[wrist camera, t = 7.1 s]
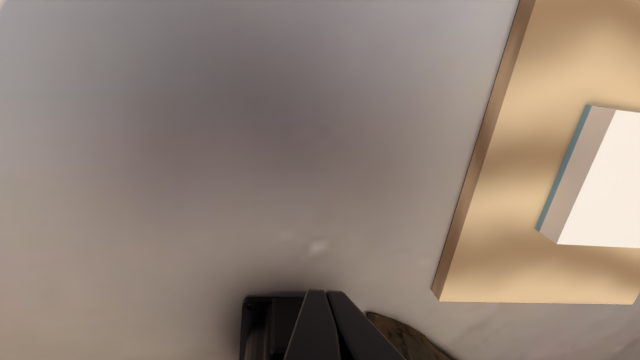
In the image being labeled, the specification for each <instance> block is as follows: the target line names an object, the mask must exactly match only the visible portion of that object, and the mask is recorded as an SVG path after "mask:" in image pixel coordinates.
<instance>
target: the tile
mask: <svg viewBox="0 0 640 360" xmlns="http://www.w3.org/2000/svg"><path fill="white" fill-rule="evenodd" d="M535 229H536V230H537V231H538V232H540V233H541V234H543V235H544V236H546V237H547V238H548V239H550V240H551V241H553V242H554V243H556V244H564V245H585V246H605V247H626V248H640V111H633V110H625V109H617V108H610V107H602V106H594V105H585V108H584V110H583V113H582V115H581V117H580V120H579V122H578V125H577V127H576V130H575V132H574V134H573V137H572V139H571V142H570V144H569V147H568V149H567V151H566V154H565V156H564V159H563V161H562V164H561V166H560V168H559V171H558V173H557V176H556V178H555V181H554V183H553V185H552V188H551V190H550V193H549V195H548V198H547V200H546V202H545V205H544V207H543V210H542V212H541V215H540V217H539V220H538V222H537V224H536V227H535Z"/></svg>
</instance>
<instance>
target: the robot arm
mask: <svg viewBox="0 0 640 360" xmlns="http://www.w3.org/2000/svg"><path fill="white" fill-rule="evenodd" d="M248 304H252V306H249V305H248ZM239 360H406V359H405V358H404V357H403V356H402V355H401V354H400V353H399V352H398V351H397V349H396V348H395V347H394V346H393V345H392V344H391V343H390V342H389V341H388V340H387V339H386V338H385V336H384V335H383V334H382V333H381V332H380V331H379V330H378V329H377V328H376V327H375V326H374V325H373V324H372V322H371V321H370V320H369V319H368V318H367V317H366V316H365V315H364V314H363V313H362V312H361V311H360V309H359V308H358V307H357V306H356V305H355V304H354V303H353V302H352V301H351V300H350V299H349V298H348V297H347V295H346V294H345V293H343V292H342V291H332V290H327V291H326V292H325V291H324V290H318V289H308V290H307V292H306V295H305V298H292V297H247V298H245V299H244V301H243V306H242V322H241V340H240V359H239Z"/></svg>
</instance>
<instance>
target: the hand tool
mask: <svg viewBox="0 0 640 360" xmlns="http://www.w3.org/2000/svg"><path fill="white" fill-rule="evenodd" d="M367 318H368V319H369V320H370V321H371V322H372V324H373V325H374V326H375V327H376V328H377V329H378V330H379V331H380V332H381V333H382V334H383V335H384V336H385V338H386V339H387V340H388V341H389V342H390V343H391V344H392V345H393V346H394V347H395V348H396V349H397V351H398V352H399V353H400V354H401V355H402V356H403V357H404V358H405V359H406V360H451V359H449V358H448V357H447V356H445V355H444V354H443V353H441V352H440V351H439V350H437V349H436V348H435V347H434V346H433V345H432V344H431V343H430V342H429V341H428V340H427V339H426V337H425V336H424V335H423V334H422V333H420V332H418V331H417V330H415V329H413V328H411V327H409V326H407V325H405V324H402V323H400V322H398V321H395V320H393V319H390V318H386V317H384V316H380V315H376V314H373V313H369V314H368V315H367Z"/></svg>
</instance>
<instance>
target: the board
mask: <svg viewBox="0 0 640 360" xmlns="http://www.w3.org/2000/svg"><path fill="white" fill-rule="evenodd" d="M585 105H594V106H602V107H610V108H617V109H625V110H633V111H640V0H520V2H519V5H518V9H517V12H516V15H515V18H514V22H513V25H512V28H511V31H510V35H509V38H508V41H507V45H506V48H505V51H504V54H503V58H502V61H501V64H500V67H499V71H498V74H497V77H496V80H495V84H494V87H493V90H492V94H491V97H490V100H489V103H488V107H487V110H486V113H485V116H484V120H483V123H482V126H481V129H480V133H479V136H478V139H477V142H476V146H475V149H474V152H473V156H472V159H471V162H470V165H469V169H468V172H467V175H466V178H465V182H464V185H463V188H462V191H461V195H460V198H459V201H458V204H457V208H456V211H455V214H454V218H453V221H452V224H451V227H450V231H449V234H448V237H447V240H446V244H445V247H444V250H443V253H442V257H441V260H440V263H439V267H438V270H437V273H436V276H435V280H434V283H433V286H432V289H431V290H432V291H433V293H434V294H435V296H436V297H437V299H438V301H450V302H514V303H578V304H633V303H634V301H635V299H636V298H637V296H638V294H639V292H640V248H626V247H605V246H585V245H564V244H556V243H554V242H553V241H551V240H550V239H548V238H547V237H546V236H544V235H543V234H541V233H540V232H538V231H537V230H536V229H535V227H536V224H537V222H538V220H539V217H540V215H541V212H542V210H543V207H544V205H545V202H546V200H547V198H548V195H549V193H550V190H551V188H552V185H553V183H554V181H555V178H556V176H557V173H558V171H559V168H560V166H561V164H562V161H563V159H564V156H565V154H566V151H567V149H568V147H569V144H570V142H571V139H572V137H573V134H574V132H575V130H576V127H577V125H578V122H579V120H580V117H581V115H582V113H583V110H584V108H585Z"/></svg>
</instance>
